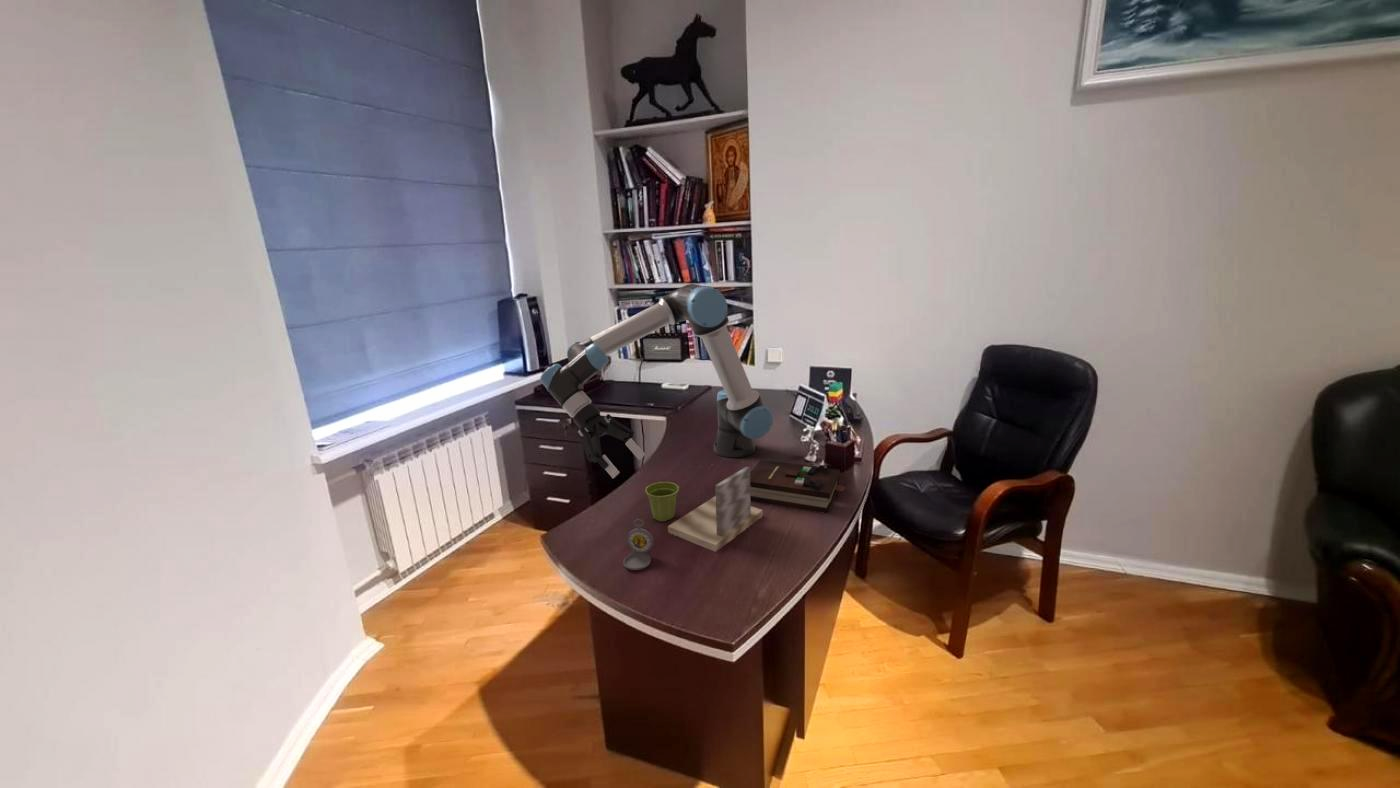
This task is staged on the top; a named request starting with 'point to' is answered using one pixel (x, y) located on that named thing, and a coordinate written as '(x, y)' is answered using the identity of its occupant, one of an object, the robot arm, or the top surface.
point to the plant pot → (662, 499)
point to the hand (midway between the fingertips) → (629, 466)
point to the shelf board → (720, 514)
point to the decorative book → (795, 485)
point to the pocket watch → (638, 548)
